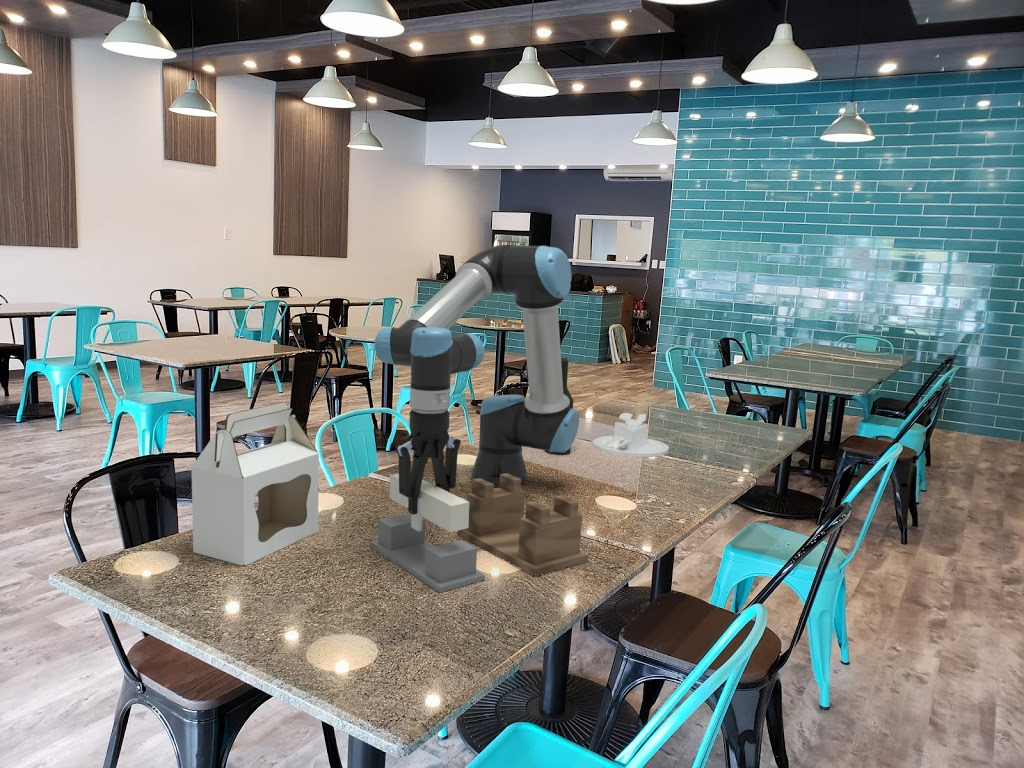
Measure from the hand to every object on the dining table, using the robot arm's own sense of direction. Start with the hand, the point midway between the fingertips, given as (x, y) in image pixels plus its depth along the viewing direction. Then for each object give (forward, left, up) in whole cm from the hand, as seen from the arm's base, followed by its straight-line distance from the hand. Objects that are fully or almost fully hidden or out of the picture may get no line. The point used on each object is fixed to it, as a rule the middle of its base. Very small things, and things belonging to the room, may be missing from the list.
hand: (426, 526), depth 149 cm
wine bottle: (-52, +82, -8) cm, 97 cm away
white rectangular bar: (0, 0, +3) cm, 3 cm away
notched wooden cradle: (+4, +21, -7) cm, 22 cm away
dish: (-45, +108, -8) cm, 117 cm away
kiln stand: (0, 0, -7) cm, 7 cm away
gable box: (-27, -23, -8) cm, 36 cm away
